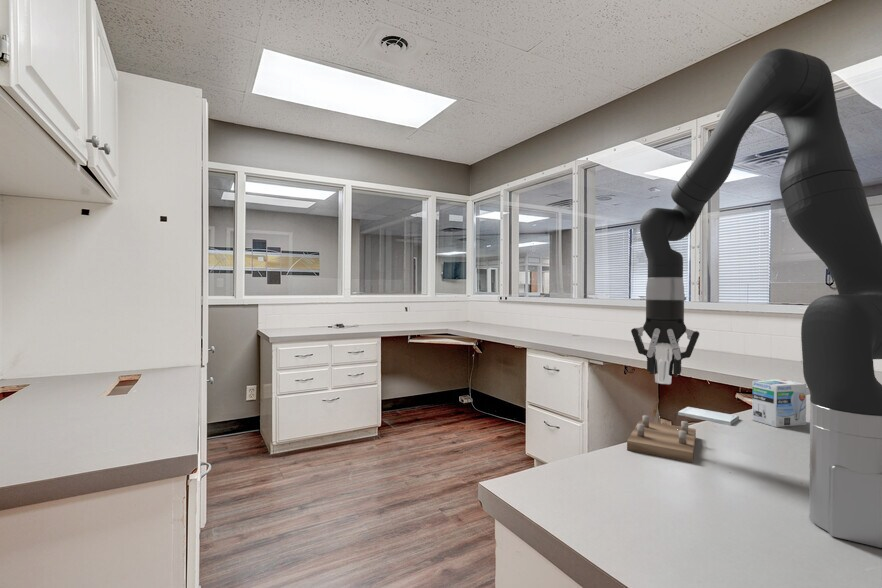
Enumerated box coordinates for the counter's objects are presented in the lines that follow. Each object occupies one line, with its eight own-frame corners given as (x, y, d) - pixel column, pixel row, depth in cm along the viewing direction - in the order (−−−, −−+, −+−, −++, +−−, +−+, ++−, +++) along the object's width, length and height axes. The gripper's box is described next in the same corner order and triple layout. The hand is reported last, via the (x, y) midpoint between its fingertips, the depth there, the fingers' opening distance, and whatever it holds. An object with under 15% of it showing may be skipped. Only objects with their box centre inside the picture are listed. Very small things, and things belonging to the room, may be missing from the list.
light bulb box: (776, 428, 107) (777, 385, 107) (750, 420, 113) (751, 380, 113) (807, 425, 109) (807, 383, 110) (780, 417, 116) (780, 378, 116)
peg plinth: (692, 462, 83) (692, 439, 83) (627, 449, 90) (627, 428, 90) (695, 437, 98) (695, 418, 98) (639, 428, 105) (639, 410, 105)
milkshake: (681, 385, 91) (683, 339, 91) (655, 384, 92) (656, 338, 92) (674, 381, 96) (676, 337, 96) (649, 380, 97) (650, 336, 97)
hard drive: (739, 415, 114) (688, 405, 123) (730, 421, 108) (678, 410, 117) (739, 421, 114) (688, 411, 123) (730, 427, 108) (677, 416, 117)
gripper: (627, 297, 95) (626, 374, 95) (701, 298, 87) (700, 381, 87) (632, 297, 101) (632, 369, 101) (702, 298, 93) (701, 376, 93)
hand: (663, 374), depth 94 cm, fingers closed on milkshake, 4 cm apart
